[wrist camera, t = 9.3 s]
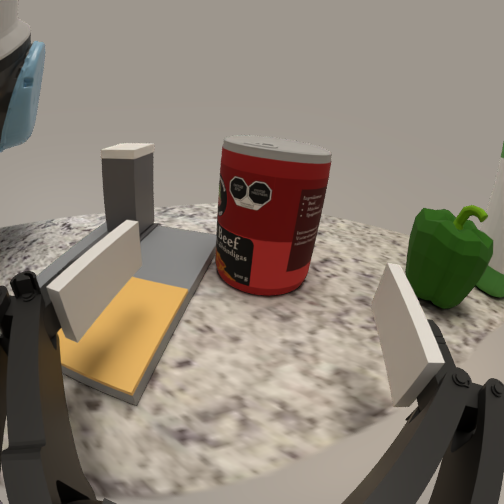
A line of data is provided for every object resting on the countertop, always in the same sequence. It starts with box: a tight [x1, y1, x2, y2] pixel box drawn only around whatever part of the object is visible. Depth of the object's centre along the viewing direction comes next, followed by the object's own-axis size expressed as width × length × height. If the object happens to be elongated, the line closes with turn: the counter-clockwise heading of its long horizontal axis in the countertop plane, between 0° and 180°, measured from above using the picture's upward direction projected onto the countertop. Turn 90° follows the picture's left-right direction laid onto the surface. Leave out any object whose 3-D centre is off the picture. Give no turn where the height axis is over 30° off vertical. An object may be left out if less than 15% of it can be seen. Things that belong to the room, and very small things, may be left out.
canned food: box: [215, 135, 332, 296], centre depth 22 cm, size 8×8×11 cm
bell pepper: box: [406, 205, 493, 309], centre depth 22 cm, size 8×8×10 cm
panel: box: [0, 222, 216, 406], centre depth 20 cm, size 13×18×2 cm
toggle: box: [101, 143, 154, 235], centre depth 25 cm, size 4×4×8 cm
